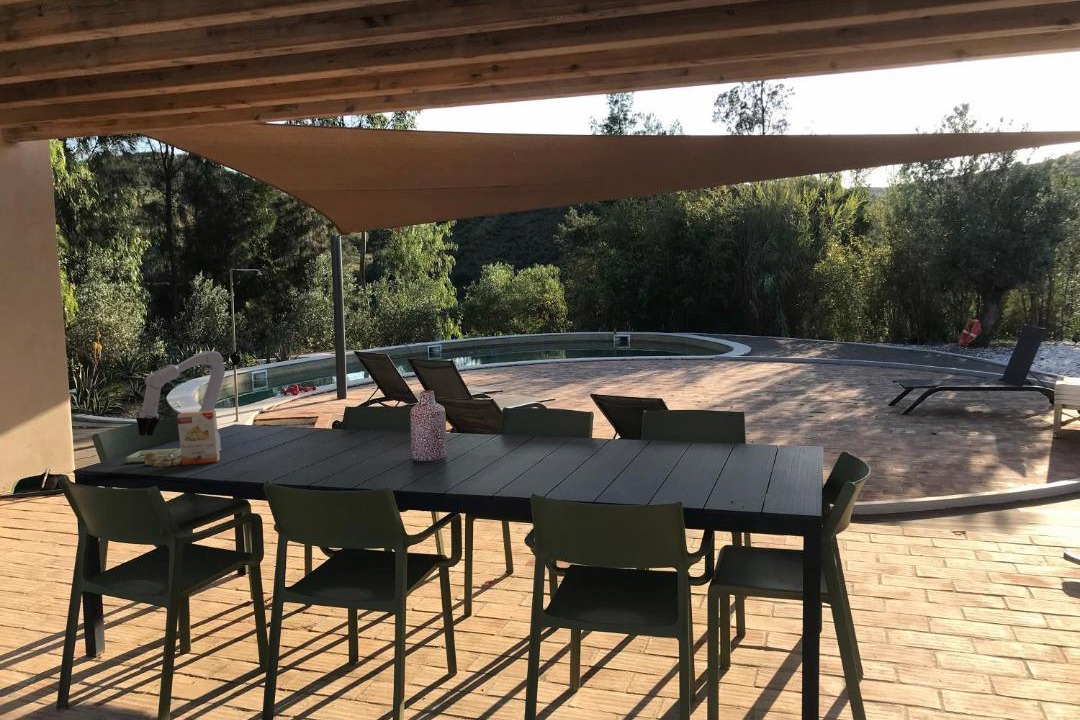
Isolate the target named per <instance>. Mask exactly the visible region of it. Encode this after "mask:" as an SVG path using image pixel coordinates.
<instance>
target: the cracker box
mask: <svg viewBox="0 0 1080 720" xmlns="http://www.w3.org/2000/svg"><path fill="white" fill-rule="evenodd" d="M177 427H178V428H177V429H178V438H179V448H180V449H181V456H180V457H181V459H182V462H181V465H182V466H186V465H188V464H189V465H199V464H201V465H202V464H212V463H213V464H214V463H218V462H219V461H220V460H221V456H220V455H221V453H220V452H221V451H219V441H218V432H219V431H218V422H217V412H216V410H214V411H201V412H198V411H188V412H180V413H179V414H177Z"/></svg>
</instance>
